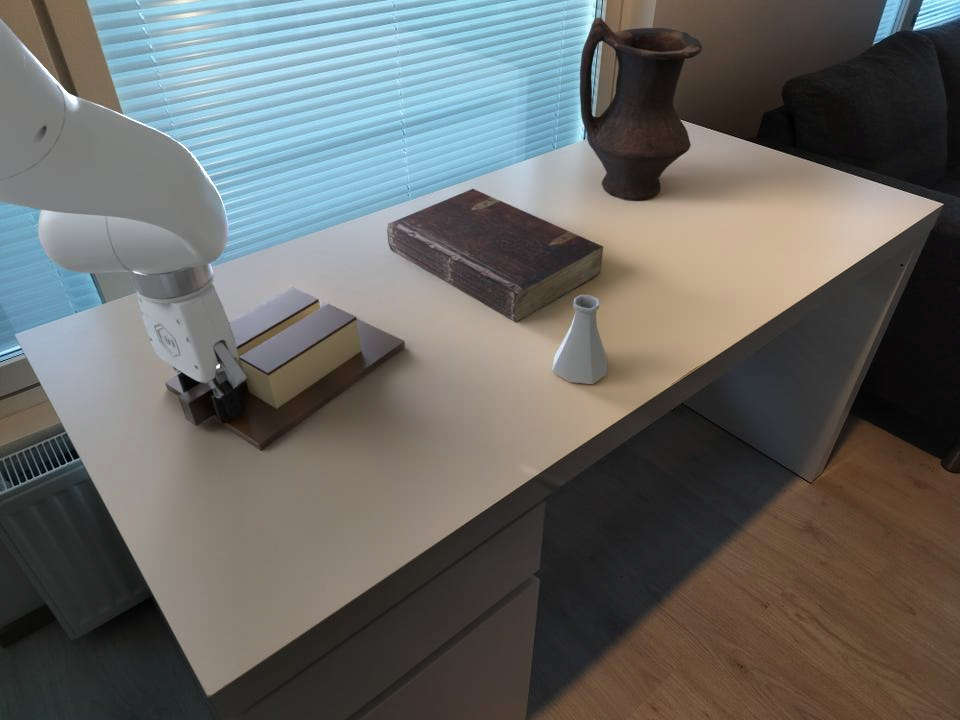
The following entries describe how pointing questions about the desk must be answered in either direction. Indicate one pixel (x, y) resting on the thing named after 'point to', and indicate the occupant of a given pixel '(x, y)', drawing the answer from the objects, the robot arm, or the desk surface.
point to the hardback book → (496, 252)
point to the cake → (292, 344)
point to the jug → (637, 107)
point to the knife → (202, 400)
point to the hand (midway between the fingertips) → (215, 404)
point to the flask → (582, 346)
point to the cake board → (307, 391)
